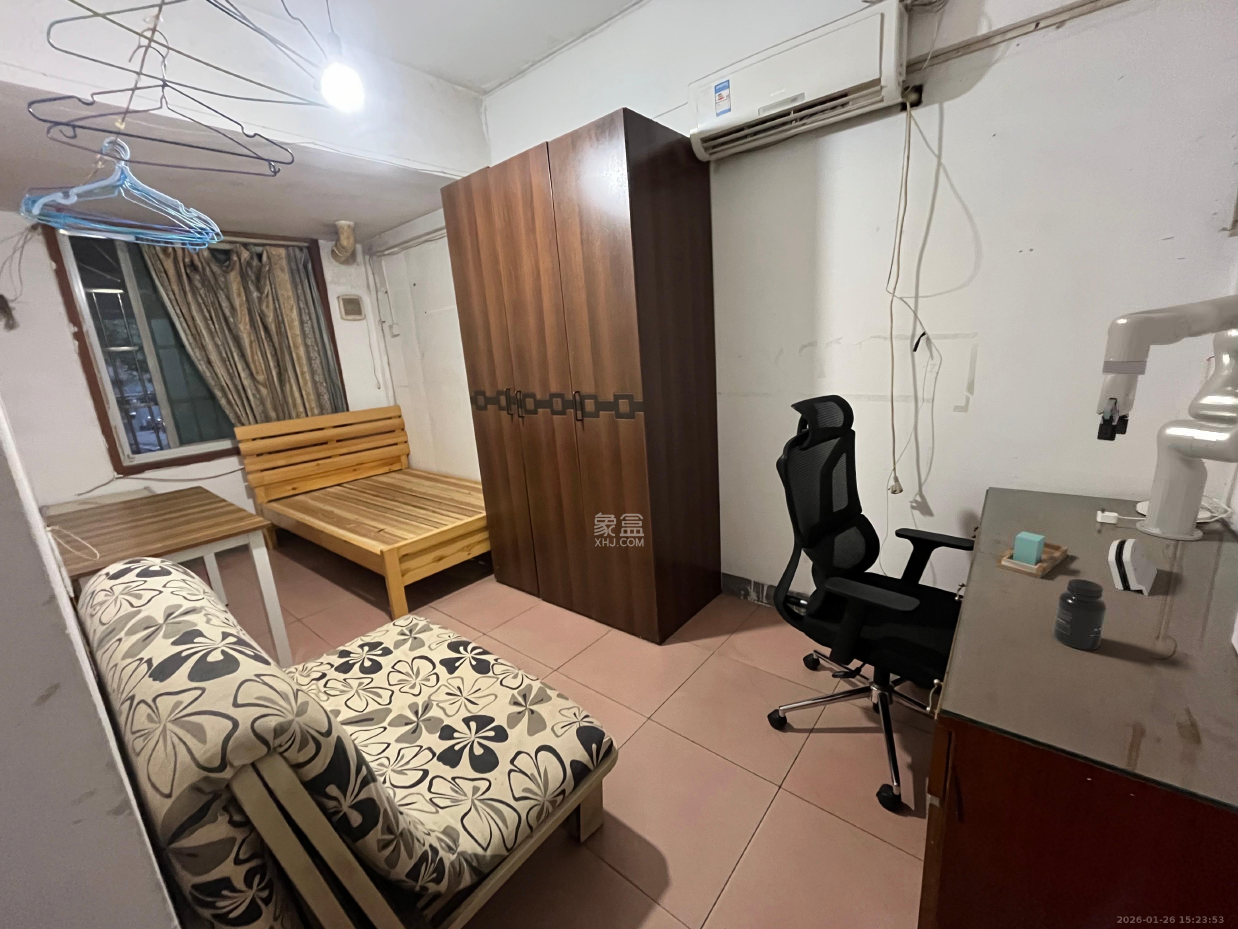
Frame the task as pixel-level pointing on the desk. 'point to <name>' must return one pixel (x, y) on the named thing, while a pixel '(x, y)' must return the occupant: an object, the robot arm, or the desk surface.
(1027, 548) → the aqua rectangular block
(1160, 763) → the desk surface
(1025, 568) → the slot board
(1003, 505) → the desk surface
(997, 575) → the desk surface
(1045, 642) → the desk surface
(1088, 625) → the supplement bottle
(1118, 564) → the white piece
